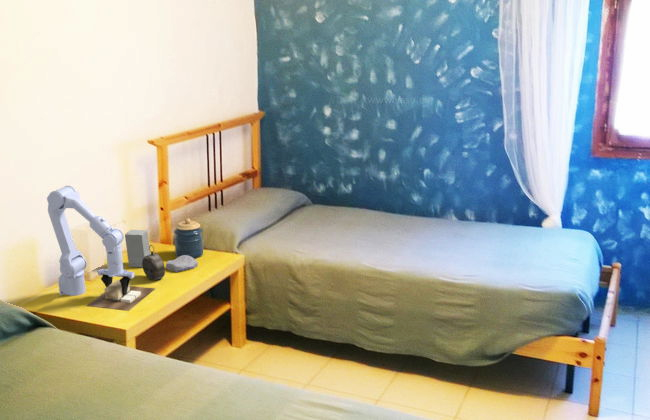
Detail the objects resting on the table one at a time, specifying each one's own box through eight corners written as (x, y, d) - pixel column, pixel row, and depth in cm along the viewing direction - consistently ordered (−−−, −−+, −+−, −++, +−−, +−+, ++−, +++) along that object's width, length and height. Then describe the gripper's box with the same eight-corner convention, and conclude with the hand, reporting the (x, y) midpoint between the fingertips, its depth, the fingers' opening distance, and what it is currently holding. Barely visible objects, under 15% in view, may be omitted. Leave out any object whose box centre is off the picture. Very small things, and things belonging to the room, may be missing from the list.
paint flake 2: (126, 297, 271) (126, 294, 271) (131, 293, 275) (131, 290, 275) (136, 298, 270) (135, 295, 270) (141, 294, 274) (140, 291, 274)
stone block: (199, 270, 309) (185, 261, 314) (200, 260, 307) (185, 251, 312) (179, 278, 300) (164, 269, 305) (179, 269, 298) (164, 259, 303)
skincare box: (151, 263, 312) (149, 229, 307) (144, 268, 305) (142, 234, 300) (134, 261, 313) (131, 228, 309) (126, 267, 306) (124, 233, 302)
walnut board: (85, 309, 263) (85, 305, 263) (115, 287, 284) (115, 284, 284) (129, 314, 260) (128, 310, 259) (155, 292, 280) (155, 288, 280)
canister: (193, 248, 331) (192, 212, 326) (209, 255, 322) (207, 218, 317) (169, 254, 323) (167, 218, 318) (184, 261, 313) (182, 224, 308)
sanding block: (105, 299, 268) (104, 288, 267) (117, 290, 276) (116, 280, 275) (118, 300, 267) (117, 290, 266) (130, 291, 275) (129, 281, 274)
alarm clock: (166, 283, 289) (164, 246, 284) (155, 286, 285) (153, 249, 281) (151, 276, 296) (149, 240, 292) (140, 279, 292) (138, 243, 288)
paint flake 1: (120, 301, 267) (120, 299, 267) (125, 297, 271) (125, 294, 270) (130, 302, 266) (130, 300, 266) (135, 298, 270) (135, 296, 269)
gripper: (92, 262, 265) (95, 295, 269) (126, 266, 262) (129, 299, 266) (102, 256, 272) (105, 288, 276) (135, 259, 269) (138, 292, 273)
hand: (117, 293), depth 271 cm, fingers closed on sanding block, 6 cm apart
